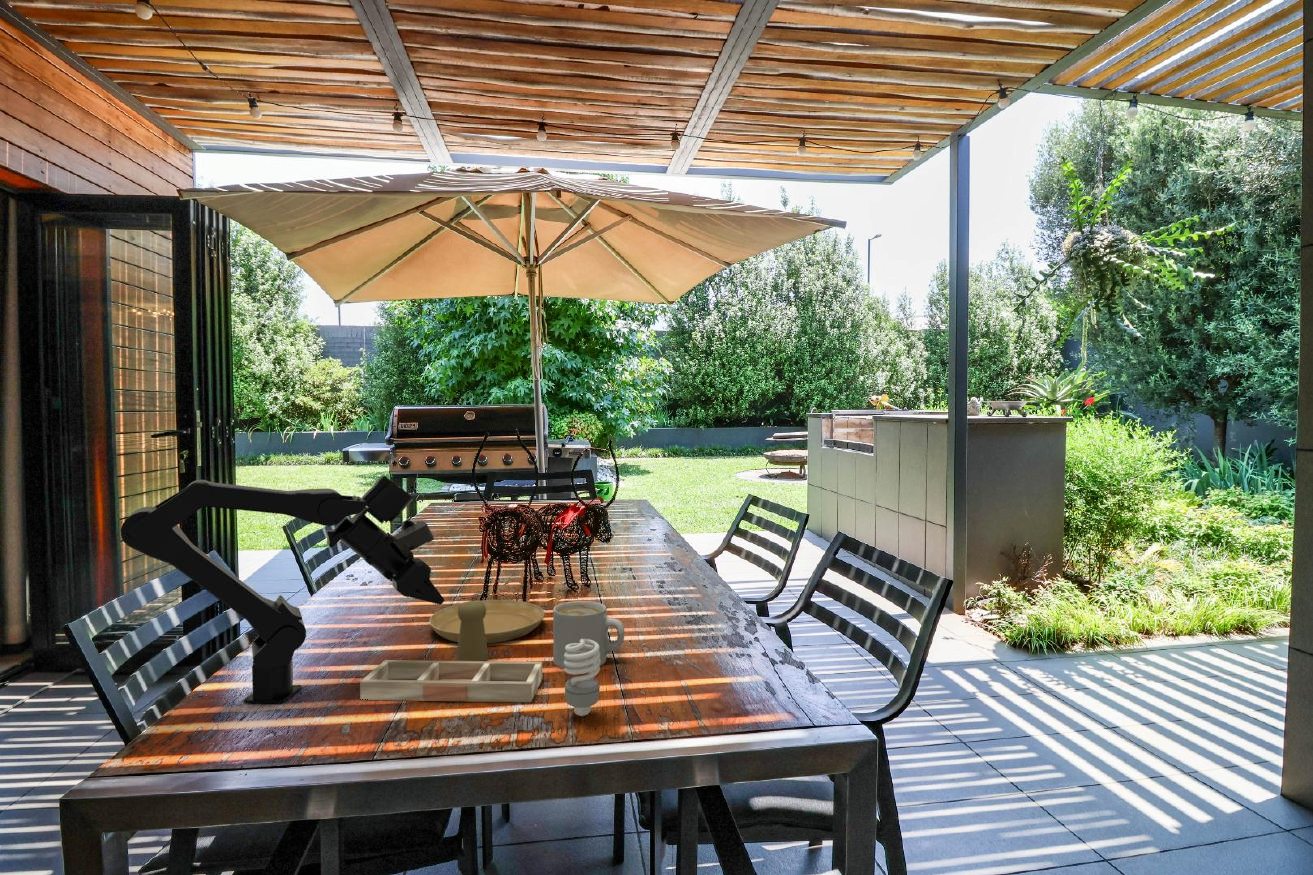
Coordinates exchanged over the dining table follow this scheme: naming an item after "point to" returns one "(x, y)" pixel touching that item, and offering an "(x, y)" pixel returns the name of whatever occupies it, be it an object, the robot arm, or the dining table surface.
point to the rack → (452, 681)
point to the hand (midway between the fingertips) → (436, 596)
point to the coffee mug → (583, 628)
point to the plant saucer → (492, 620)
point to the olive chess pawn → (472, 632)
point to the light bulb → (582, 688)
